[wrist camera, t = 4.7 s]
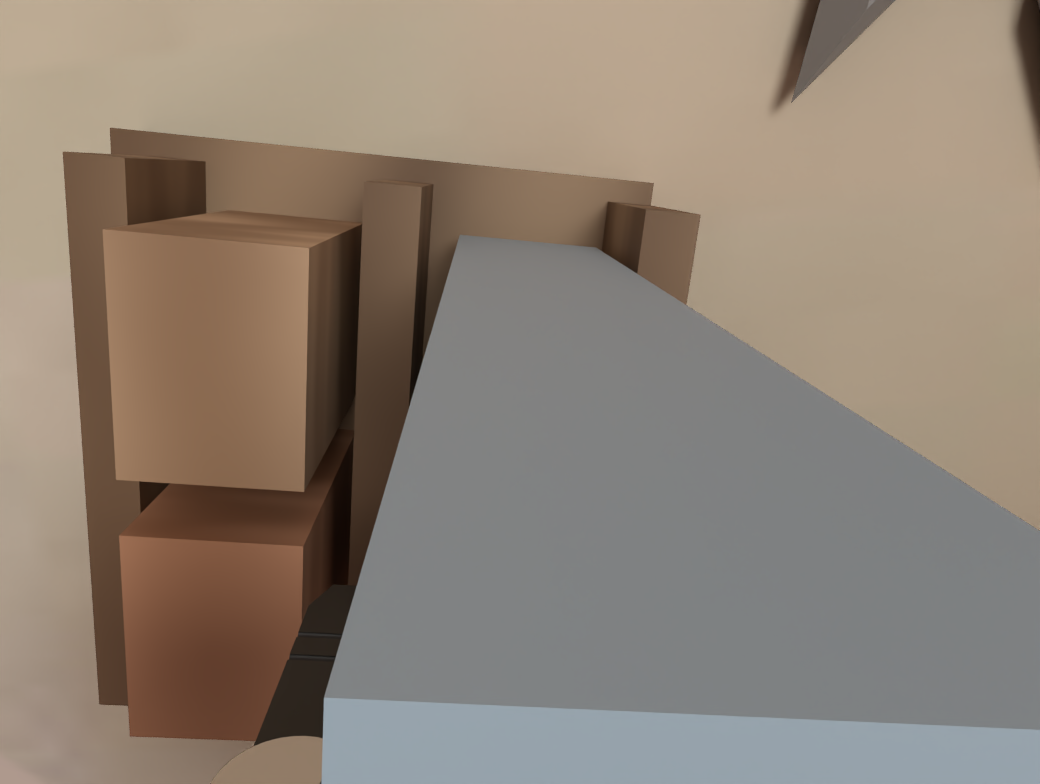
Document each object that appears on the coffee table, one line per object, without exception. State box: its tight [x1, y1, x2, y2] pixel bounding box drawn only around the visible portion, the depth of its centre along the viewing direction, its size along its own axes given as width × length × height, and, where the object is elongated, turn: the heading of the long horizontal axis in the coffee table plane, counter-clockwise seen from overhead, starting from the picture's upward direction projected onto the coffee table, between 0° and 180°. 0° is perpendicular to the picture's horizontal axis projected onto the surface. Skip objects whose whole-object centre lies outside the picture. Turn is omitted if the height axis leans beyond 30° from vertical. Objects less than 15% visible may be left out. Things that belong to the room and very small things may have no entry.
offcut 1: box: [103, 210, 362, 492], centre depth 15 cm, size 3×4×6 cm
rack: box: [63, 128, 700, 706], centre depth 17 cm, size 12×12×6 cm
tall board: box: [321, 235, 1040, 784], centre depth 10 cm, size 3×9×15 cm, turn 174°
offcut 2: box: [119, 429, 354, 741], centre depth 16 cm, size 3×4×6 cm
